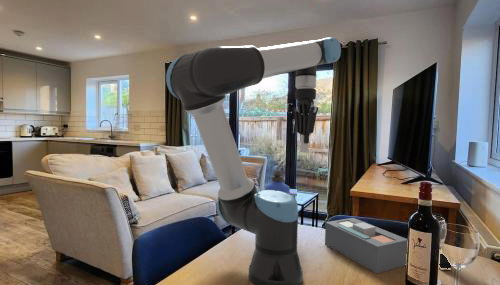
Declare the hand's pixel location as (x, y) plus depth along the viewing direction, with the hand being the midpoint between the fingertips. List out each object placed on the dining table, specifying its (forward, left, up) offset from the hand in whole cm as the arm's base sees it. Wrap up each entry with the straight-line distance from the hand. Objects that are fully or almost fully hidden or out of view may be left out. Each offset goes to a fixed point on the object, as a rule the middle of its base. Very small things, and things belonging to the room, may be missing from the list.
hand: (304, 151), depth 112 cm
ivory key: (+5, -16, -28) cm, 32 cm away
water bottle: (-7, +7, -33) cm, 34 cm away
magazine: (+14, -42, -33) cm, 55 cm away
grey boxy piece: (+3, -23, -32) cm, 40 cm away
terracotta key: (+1, -30, -28) cm, 41 cm away
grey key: (+3, -23, -26) cm, 35 cm away
